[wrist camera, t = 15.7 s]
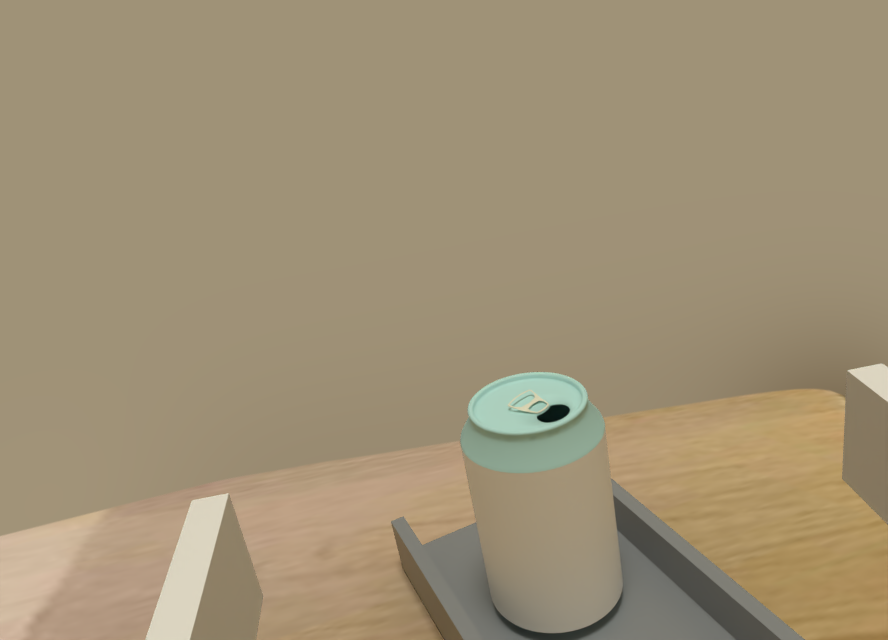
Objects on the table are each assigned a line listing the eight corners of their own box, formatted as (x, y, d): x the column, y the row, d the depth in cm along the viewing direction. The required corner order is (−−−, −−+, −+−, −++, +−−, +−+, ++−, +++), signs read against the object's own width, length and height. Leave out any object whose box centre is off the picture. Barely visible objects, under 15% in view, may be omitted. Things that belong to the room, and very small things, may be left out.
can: (619, 545, 44) (597, 358, 40) (629, 641, 38) (605, 432, 33) (497, 551, 46) (462, 371, 41) (487, 645, 39) (445, 445, 35)
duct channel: (576, 866, 30) (565, 805, 29) (402, 567, 48) (391, 521, 46) (826, 718, 34) (827, 658, 32) (579, 492, 51) (573, 447, 50)
